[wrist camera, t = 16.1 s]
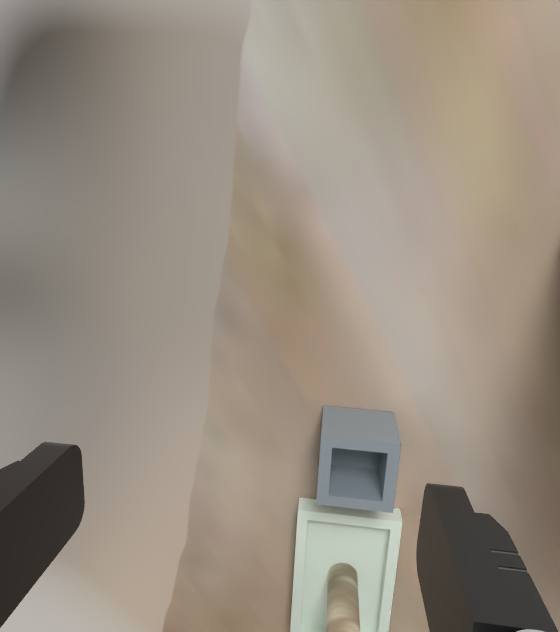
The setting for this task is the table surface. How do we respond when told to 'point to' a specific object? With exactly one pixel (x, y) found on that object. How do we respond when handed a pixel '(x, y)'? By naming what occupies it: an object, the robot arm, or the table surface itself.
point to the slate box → (358, 459)
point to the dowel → (342, 599)
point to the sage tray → (344, 547)
